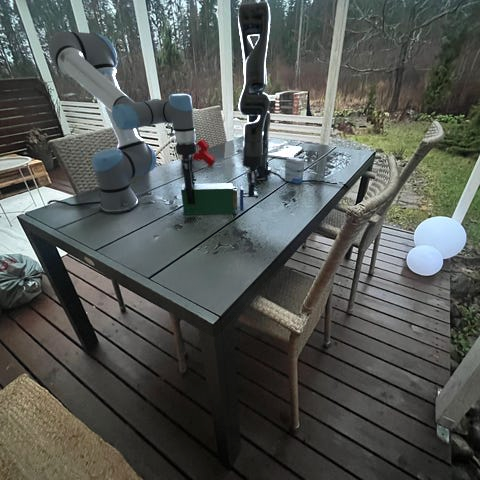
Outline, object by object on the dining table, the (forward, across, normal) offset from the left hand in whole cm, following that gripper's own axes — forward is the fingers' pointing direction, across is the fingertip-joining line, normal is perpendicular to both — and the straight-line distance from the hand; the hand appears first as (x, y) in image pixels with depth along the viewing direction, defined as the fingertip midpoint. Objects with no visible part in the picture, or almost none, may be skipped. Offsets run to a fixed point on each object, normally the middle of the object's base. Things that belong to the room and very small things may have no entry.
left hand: (192, 200), depth 111 cm
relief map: (+6, -92, +50) cm, 104 cm away
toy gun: (+5, -65, -2) cm, 66 cm away
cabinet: (+5, 0, +6) cm, 8 cm away
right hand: (-1, 0, +24) cm, 24 cm away
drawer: (+4, 0, +14) cm, 15 cm away
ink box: (+6, -32, +50) cm, 59 cm away
